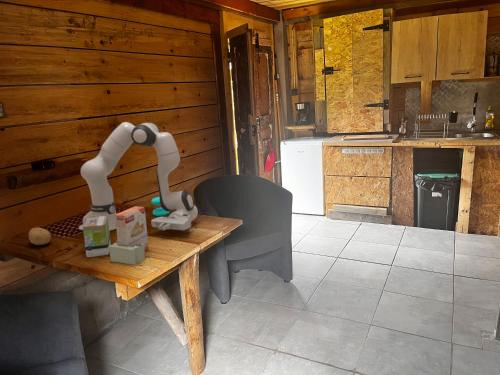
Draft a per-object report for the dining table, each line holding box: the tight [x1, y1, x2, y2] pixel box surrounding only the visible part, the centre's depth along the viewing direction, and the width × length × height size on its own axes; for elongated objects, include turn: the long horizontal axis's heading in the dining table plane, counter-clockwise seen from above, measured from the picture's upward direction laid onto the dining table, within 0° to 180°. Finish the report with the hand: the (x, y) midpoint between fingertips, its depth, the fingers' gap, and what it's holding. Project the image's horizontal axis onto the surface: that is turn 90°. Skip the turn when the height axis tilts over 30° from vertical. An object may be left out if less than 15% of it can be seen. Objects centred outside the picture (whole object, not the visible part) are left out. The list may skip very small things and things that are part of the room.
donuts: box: [151, 196, 170, 217], centre depth 236 cm, size 10×10×10 cm
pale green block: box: [109, 239, 146, 266], centre depth 171 cm, size 13×7×8 cm, turn 67°
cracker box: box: [115, 205, 150, 252], centre depth 175 cm, size 14×6×21 cm, turn 158°
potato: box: [28, 227, 52, 246], centre depth 194 cm, size 10×14×8 cm
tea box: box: [82, 216, 112, 258], centre depth 182 cm, size 15×10×15 cm, turn 17°
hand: (161, 228), depth 192 cm, fingers closed
